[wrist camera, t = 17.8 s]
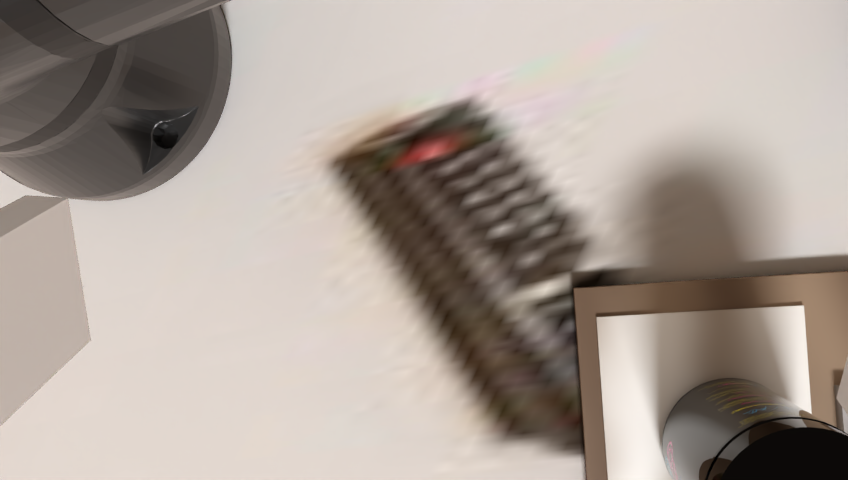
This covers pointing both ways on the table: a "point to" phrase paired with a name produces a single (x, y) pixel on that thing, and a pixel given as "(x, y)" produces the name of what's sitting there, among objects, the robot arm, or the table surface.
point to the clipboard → (701, 355)
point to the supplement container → (749, 436)
